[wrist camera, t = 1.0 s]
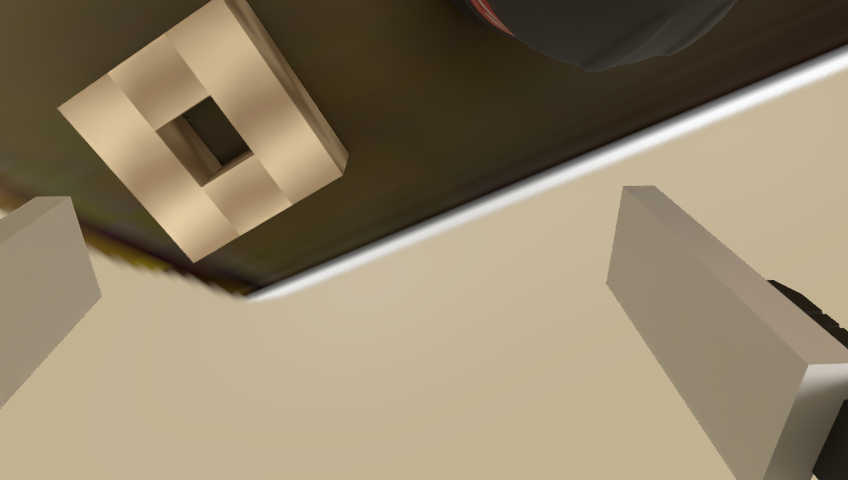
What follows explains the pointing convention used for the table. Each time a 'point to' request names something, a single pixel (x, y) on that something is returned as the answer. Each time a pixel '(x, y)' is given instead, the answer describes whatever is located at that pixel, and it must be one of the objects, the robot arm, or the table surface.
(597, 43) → the cola bottle
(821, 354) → the robot arm
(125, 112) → the block
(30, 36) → the table surface
